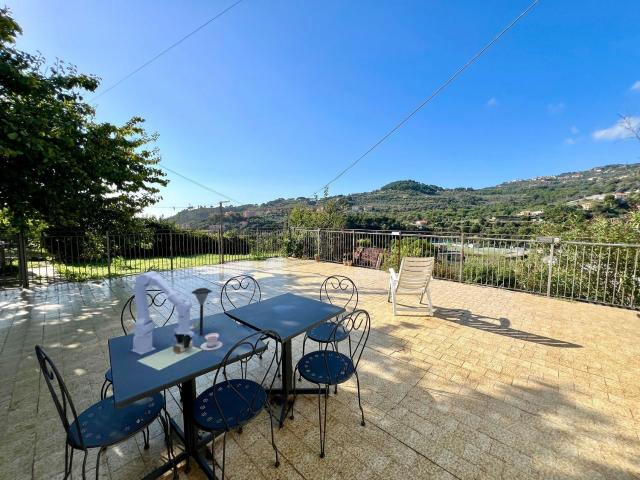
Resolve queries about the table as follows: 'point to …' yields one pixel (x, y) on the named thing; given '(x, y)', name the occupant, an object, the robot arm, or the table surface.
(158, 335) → the table surface
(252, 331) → the table surface
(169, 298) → the robot arm
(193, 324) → the smartphone
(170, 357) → the mat
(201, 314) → the solar garden light
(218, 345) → the teacup
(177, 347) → the brown-topped white block
